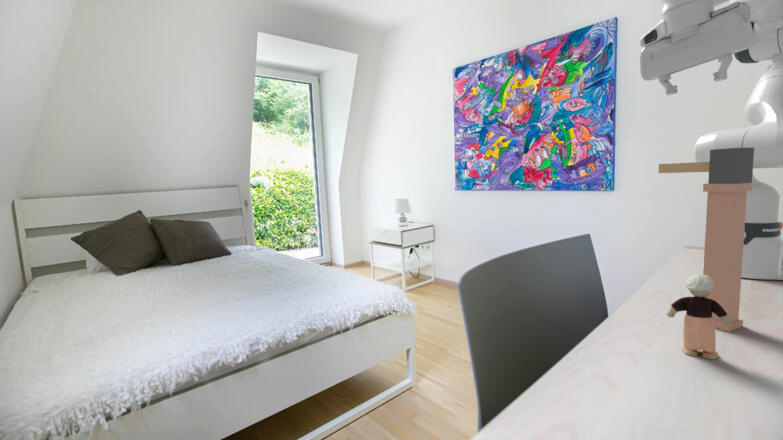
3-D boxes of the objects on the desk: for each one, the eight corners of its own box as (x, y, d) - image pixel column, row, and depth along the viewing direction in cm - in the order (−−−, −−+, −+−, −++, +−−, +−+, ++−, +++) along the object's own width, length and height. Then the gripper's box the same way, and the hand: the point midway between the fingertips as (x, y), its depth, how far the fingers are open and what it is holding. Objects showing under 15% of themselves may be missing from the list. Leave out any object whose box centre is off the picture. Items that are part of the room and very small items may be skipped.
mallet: (666, 183, 77) (668, 153, 76) (751, 182, 65) (754, 147, 65) (654, 183, 75) (655, 153, 75) (739, 183, 63) (741, 147, 63)
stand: (709, 317, 73) (717, 182, 70) (742, 326, 68) (752, 182, 65) (695, 322, 70) (703, 183, 68) (729, 332, 66) (738, 183, 63)
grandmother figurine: (722, 351, 59) (727, 273, 58) (731, 363, 56) (737, 279, 54) (663, 344, 62) (666, 269, 61) (668, 354, 59) (672, 275, 58)
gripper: (757, -4, 72) (764, 69, 73) (650, 42, 91) (657, 100, 92) (739, -4, 70) (746, 71, 71) (632, 43, 89) (639, 101, 90)
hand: (695, 87), depth 82 cm, fingers open, 8 cm apart
